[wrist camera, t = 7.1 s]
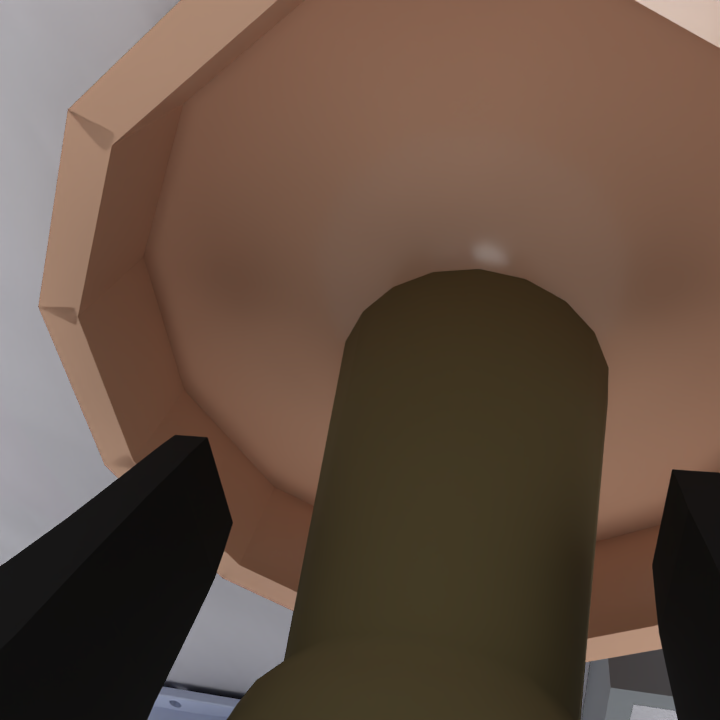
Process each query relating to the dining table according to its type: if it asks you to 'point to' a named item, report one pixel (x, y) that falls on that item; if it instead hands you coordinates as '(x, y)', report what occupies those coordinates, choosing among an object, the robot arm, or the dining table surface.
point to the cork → (451, 513)
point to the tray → (627, 686)
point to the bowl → (391, 237)
